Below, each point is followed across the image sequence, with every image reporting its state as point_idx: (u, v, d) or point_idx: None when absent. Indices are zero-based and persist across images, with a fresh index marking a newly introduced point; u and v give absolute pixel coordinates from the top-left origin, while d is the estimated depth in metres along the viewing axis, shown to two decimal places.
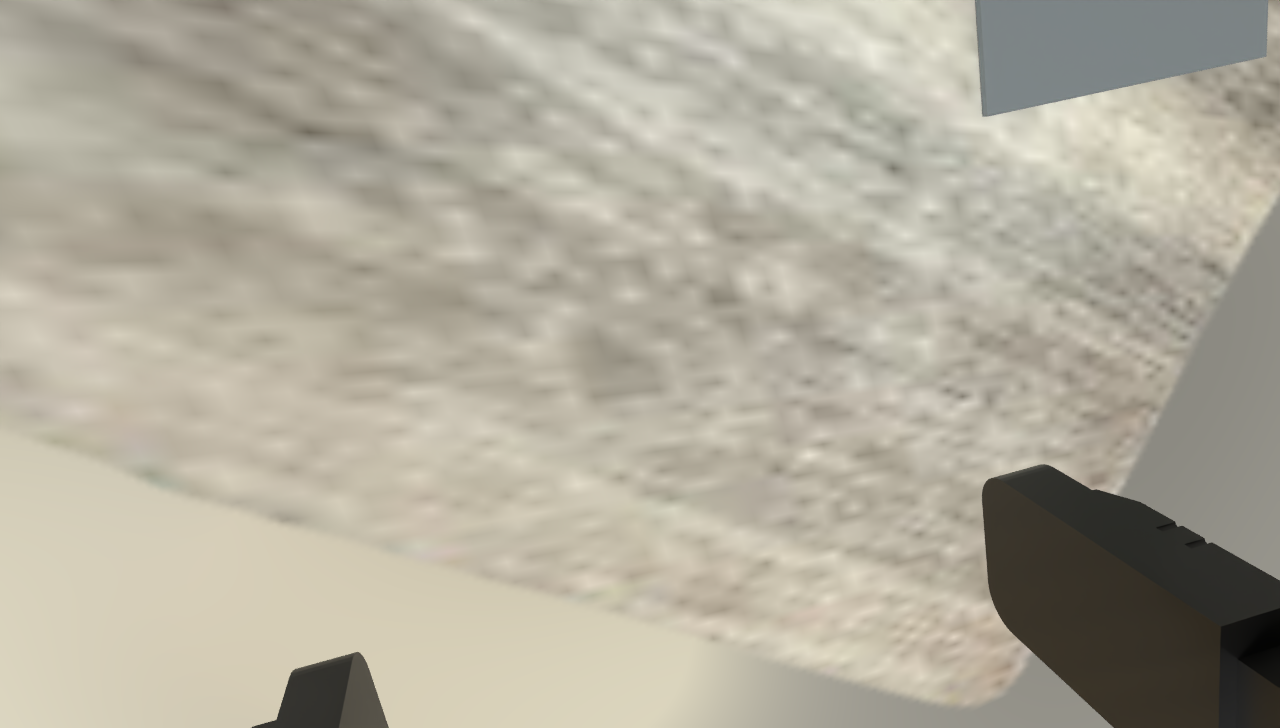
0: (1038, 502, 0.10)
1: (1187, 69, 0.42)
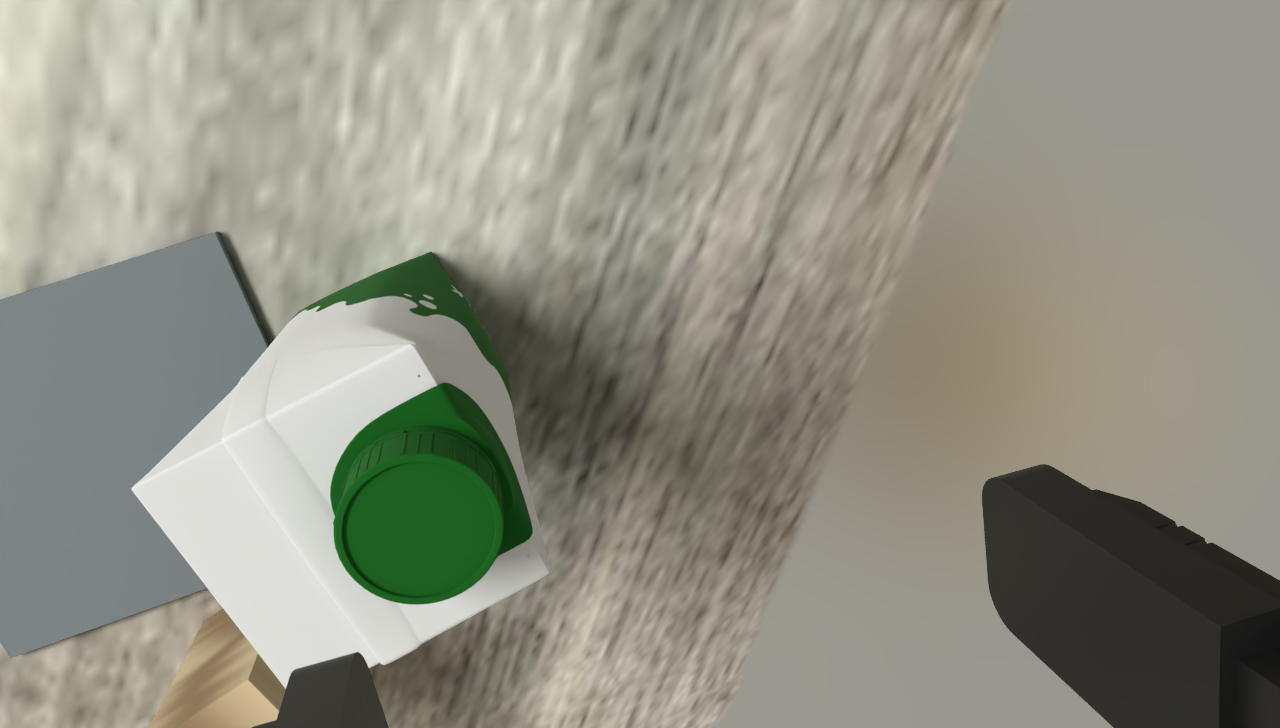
0: (1038, 502, 0.10)
1: None
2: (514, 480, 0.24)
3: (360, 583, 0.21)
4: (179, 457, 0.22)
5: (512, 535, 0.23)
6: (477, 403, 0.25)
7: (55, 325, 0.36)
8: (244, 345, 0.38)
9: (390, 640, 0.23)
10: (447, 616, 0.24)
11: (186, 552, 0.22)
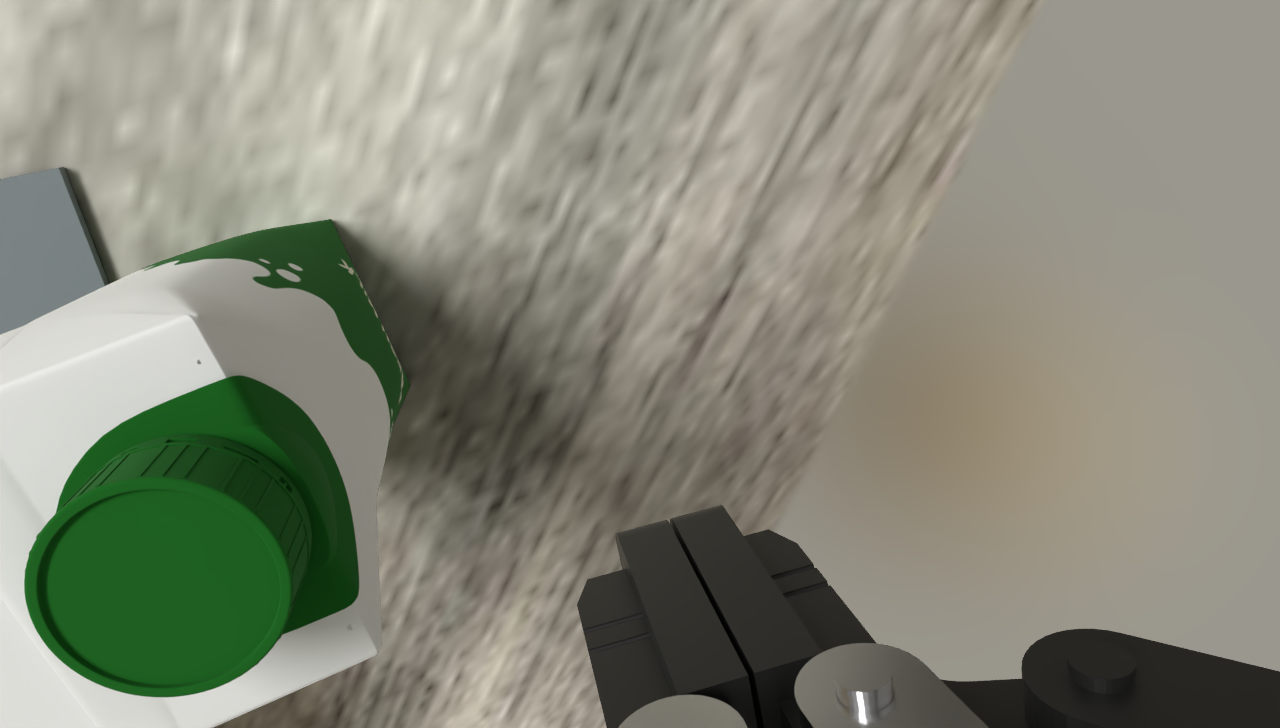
0: (691, 544, 0.11)
1: None
2: (344, 520, 0.17)
3: (65, 661, 0.14)
4: None
5: (328, 598, 0.17)
6: (306, 409, 0.18)
7: None
8: None
9: None
10: (227, 702, 0.17)
11: None
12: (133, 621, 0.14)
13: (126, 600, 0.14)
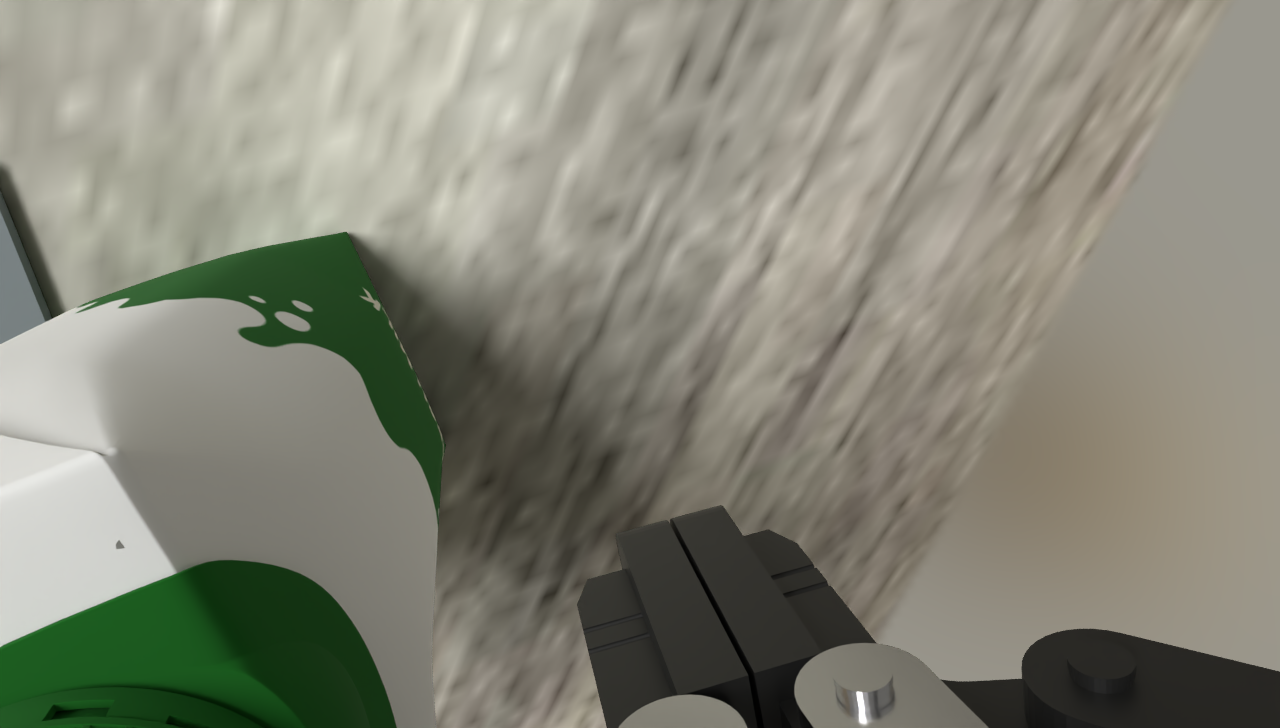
0: (691, 544, 0.11)
1: None
2: None
3: None
4: None
5: None
6: (326, 578, 0.10)
7: None
8: None
9: None
10: None
11: None
12: None
13: None
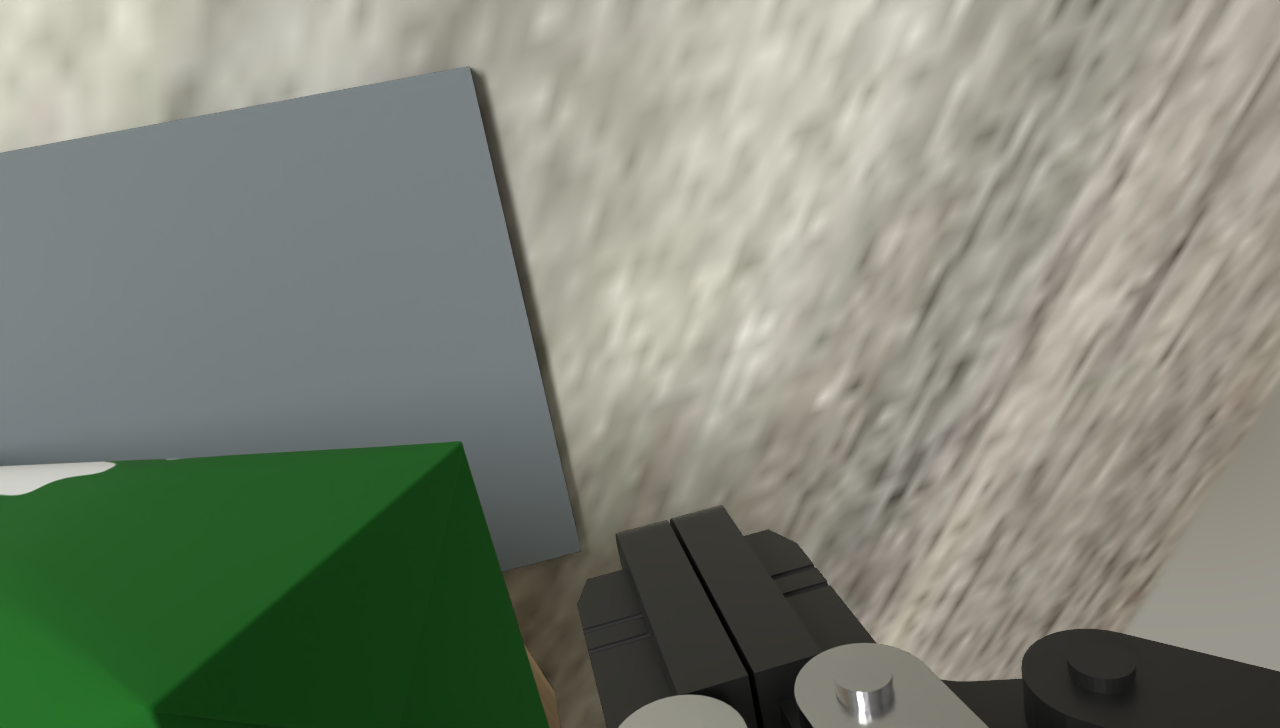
0: (691, 544, 0.11)
1: None
2: None
3: None
4: None
5: None
6: None
7: (205, 181, 0.23)
8: (480, 248, 0.25)
9: None
10: None
11: None
12: None
13: None
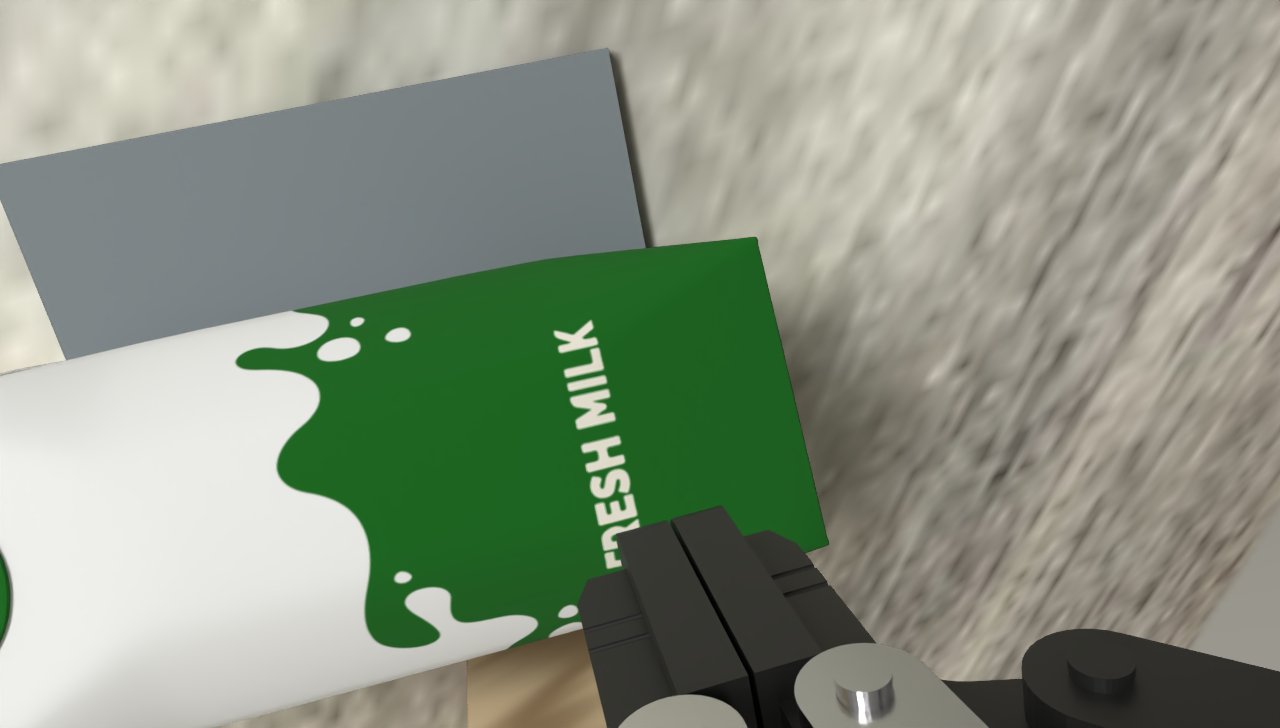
0: (691, 544, 0.11)
1: None
2: None
3: None
4: None
5: None
6: (4, 528, 0.16)
7: (352, 162, 0.23)
8: (612, 228, 0.25)
9: None
10: None
11: None
12: None
13: None
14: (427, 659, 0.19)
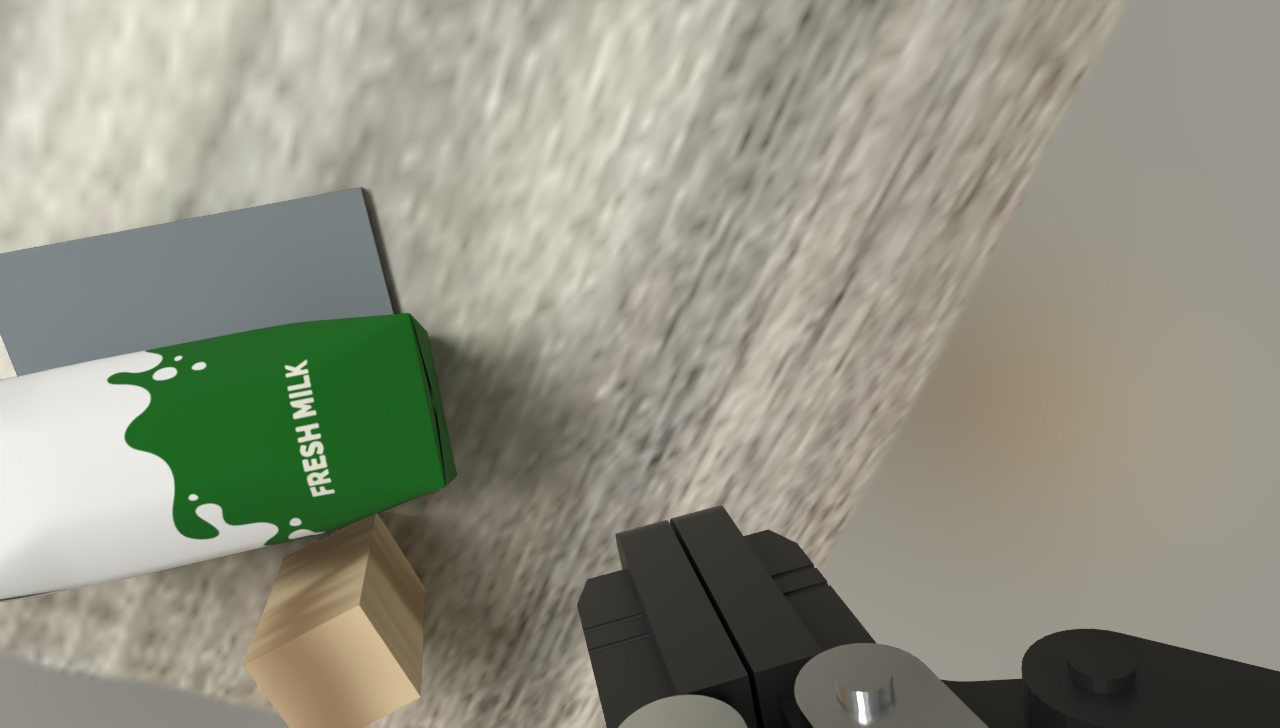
0: (691, 544, 0.11)
1: None
2: None
3: None
4: None
5: None
6: None
7: (198, 256, 0.38)
8: (369, 296, 0.40)
9: None
10: None
11: None
12: None
13: None
14: (214, 547, 0.33)
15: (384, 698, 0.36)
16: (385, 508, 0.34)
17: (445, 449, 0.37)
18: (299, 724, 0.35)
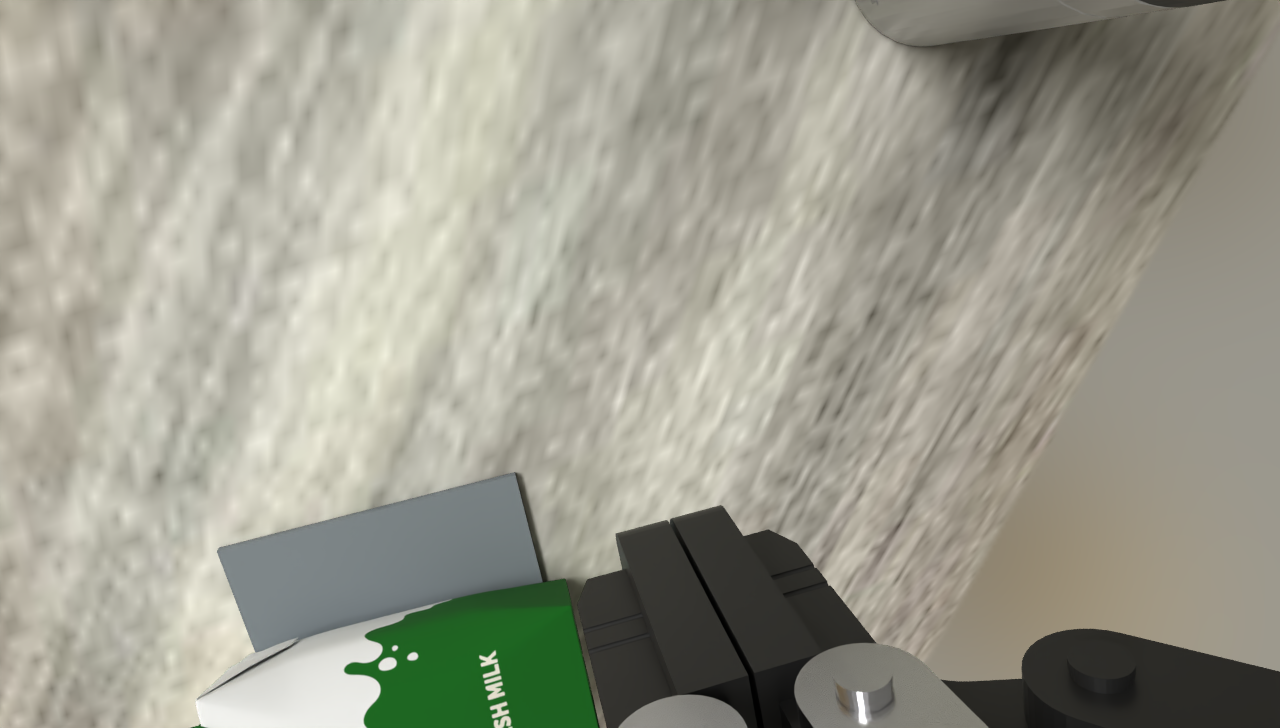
0: (691, 544, 0.11)
1: None
2: None
3: None
4: (247, 657, 0.47)
5: None
6: None
7: (388, 535, 0.47)
8: (520, 555, 0.49)
9: None
10: None
11: None
12: None
13: None
14: None
15: None
16: None
17: None
18: None
